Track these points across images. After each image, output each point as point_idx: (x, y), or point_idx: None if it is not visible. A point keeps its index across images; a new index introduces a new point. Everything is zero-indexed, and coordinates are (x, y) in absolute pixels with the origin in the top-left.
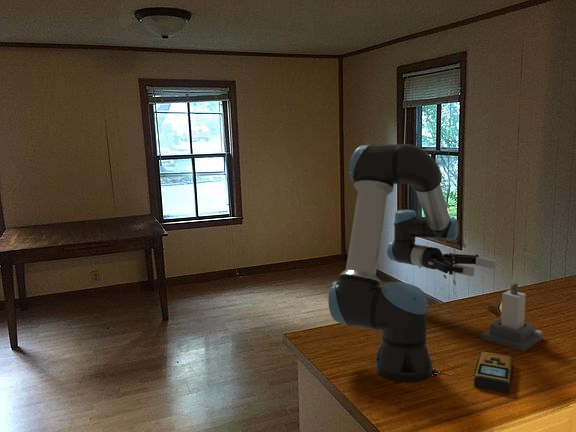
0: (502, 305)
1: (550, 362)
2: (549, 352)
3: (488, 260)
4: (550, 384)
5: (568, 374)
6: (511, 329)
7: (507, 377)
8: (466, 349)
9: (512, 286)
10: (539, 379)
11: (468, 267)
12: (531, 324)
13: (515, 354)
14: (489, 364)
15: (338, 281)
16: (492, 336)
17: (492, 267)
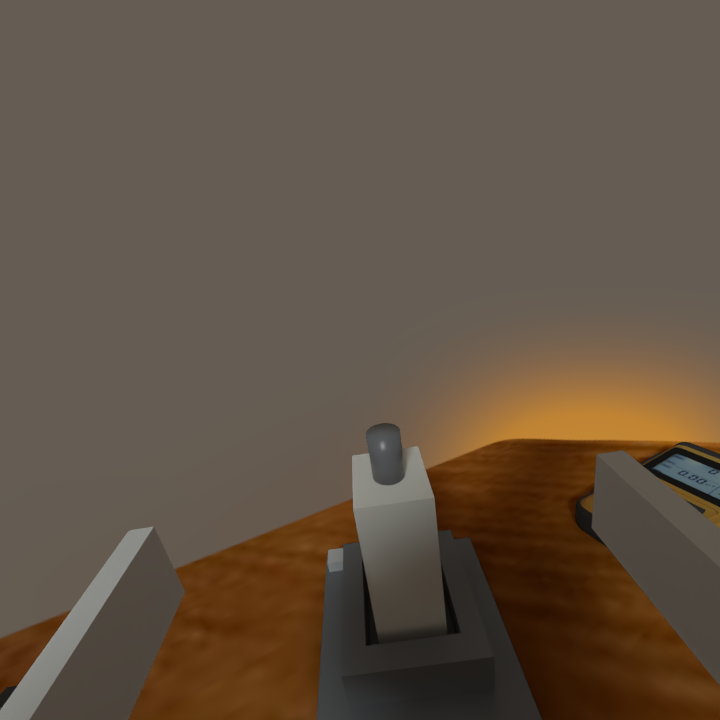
0: (438, 547)
1: (458, 489)
2: None
3: (116, 603)
4: (545, 449)
5: (473, 454)
6: (452, 565)
7: (668, 451)
8: (706, 694)
9: (400, 439)
10: (553, 464)
11: (668, 491)
12: (346, 553)
13: (509, 552)
14: (693, 496)
15: None
16: (509, 656)
17: (173, 603)
